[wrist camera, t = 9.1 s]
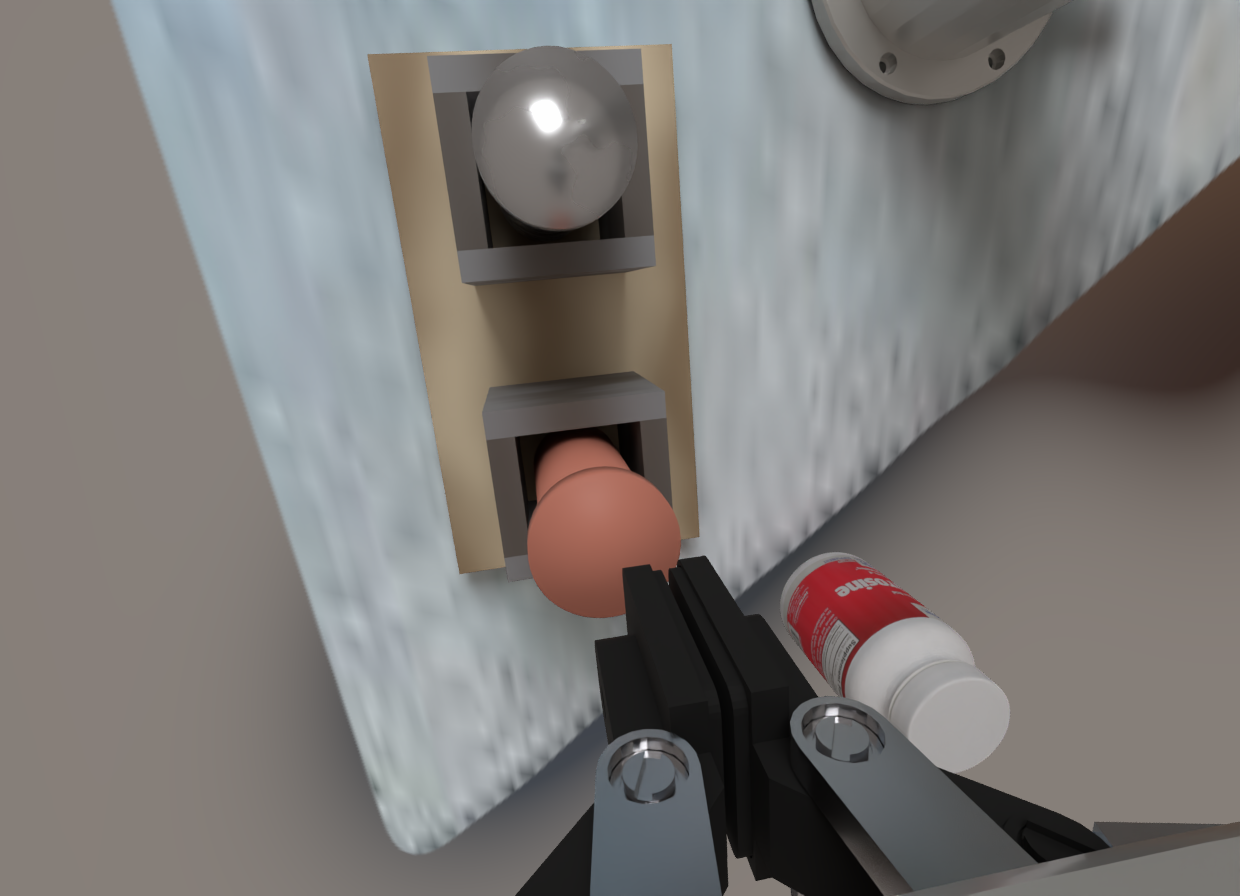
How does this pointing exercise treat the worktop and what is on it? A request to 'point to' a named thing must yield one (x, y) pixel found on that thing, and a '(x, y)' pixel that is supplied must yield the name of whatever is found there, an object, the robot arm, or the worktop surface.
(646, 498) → the red plug
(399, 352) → the worktop surface
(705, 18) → the worktop surface
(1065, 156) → the worktop surface
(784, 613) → the pill bottle
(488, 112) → the grey plug
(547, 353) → the board
